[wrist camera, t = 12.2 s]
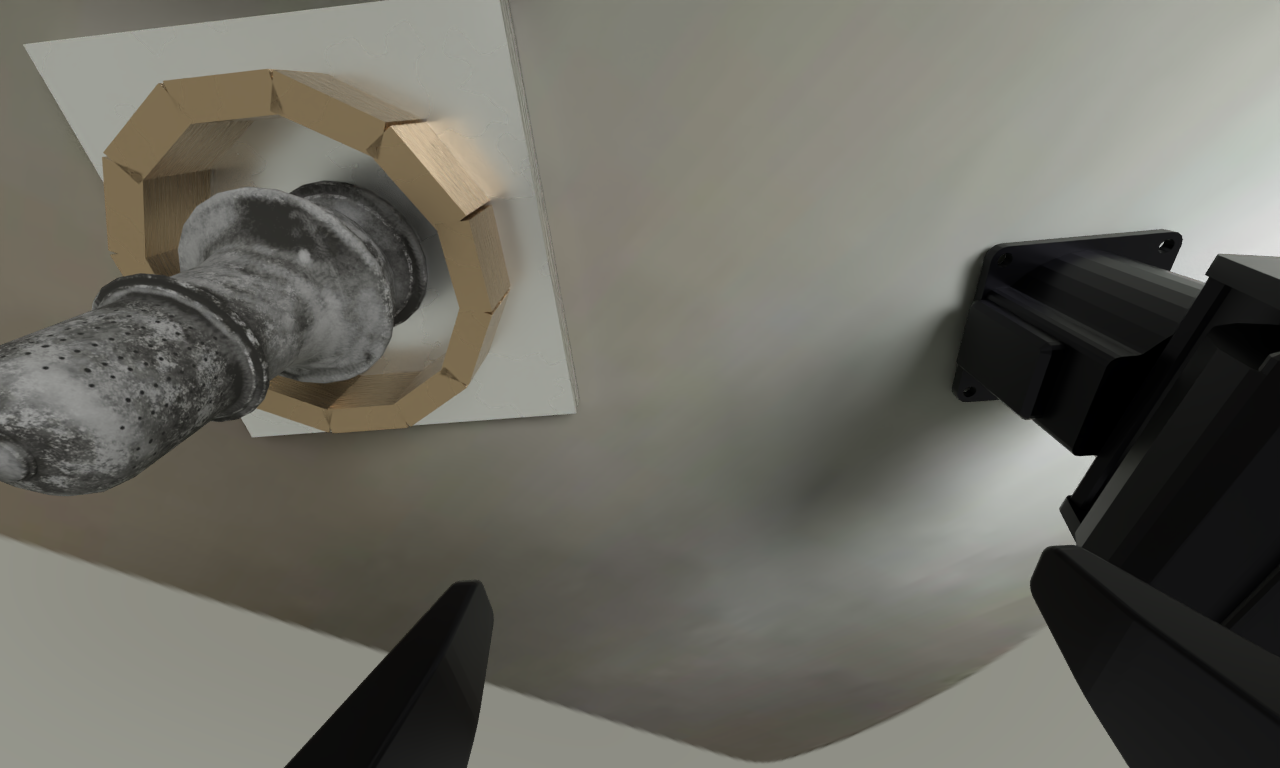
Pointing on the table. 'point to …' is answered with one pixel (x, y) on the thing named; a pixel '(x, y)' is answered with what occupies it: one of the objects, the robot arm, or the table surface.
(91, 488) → the grey stone tall piece
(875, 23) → the table surface
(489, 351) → the socket plate
